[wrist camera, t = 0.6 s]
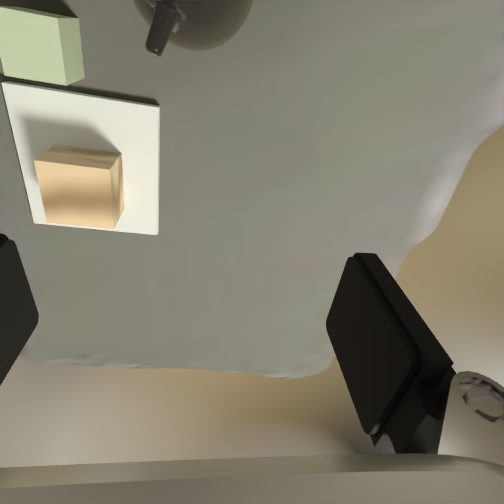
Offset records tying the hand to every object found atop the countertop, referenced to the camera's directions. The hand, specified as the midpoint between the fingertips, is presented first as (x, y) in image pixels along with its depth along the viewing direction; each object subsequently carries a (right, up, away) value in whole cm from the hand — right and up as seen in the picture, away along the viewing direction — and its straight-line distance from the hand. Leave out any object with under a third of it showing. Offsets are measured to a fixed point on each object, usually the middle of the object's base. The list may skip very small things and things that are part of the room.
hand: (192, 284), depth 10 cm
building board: (-17, +11, +29) cm, 35 cm away
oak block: (-17, +10, +29) cm, 35 cm away
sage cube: (-17, +21, +22) cm, 35 cm away
